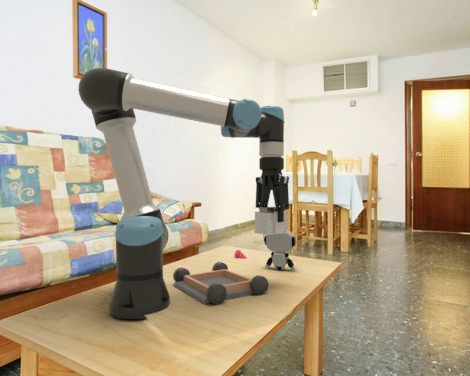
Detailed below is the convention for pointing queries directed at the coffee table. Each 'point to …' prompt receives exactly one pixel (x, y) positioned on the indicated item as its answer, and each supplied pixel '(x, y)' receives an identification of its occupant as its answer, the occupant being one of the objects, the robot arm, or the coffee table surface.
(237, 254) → the toy pieces
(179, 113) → the robot arm
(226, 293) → the chassis
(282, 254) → the robot toy
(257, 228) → the block
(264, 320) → the coffee table surface
